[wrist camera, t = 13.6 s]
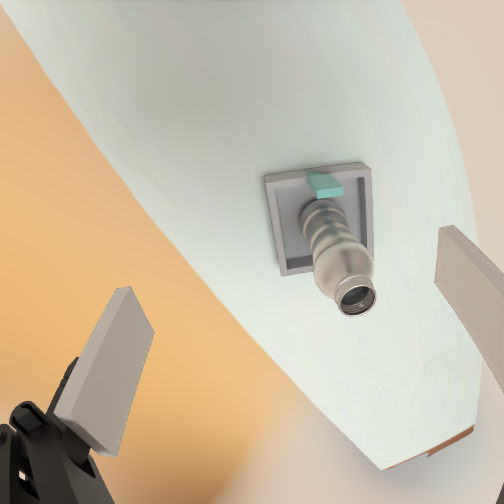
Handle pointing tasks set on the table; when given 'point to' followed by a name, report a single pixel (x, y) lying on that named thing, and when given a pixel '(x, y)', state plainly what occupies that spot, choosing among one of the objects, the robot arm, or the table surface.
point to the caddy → (312, 189)
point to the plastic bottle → (338, 258)
